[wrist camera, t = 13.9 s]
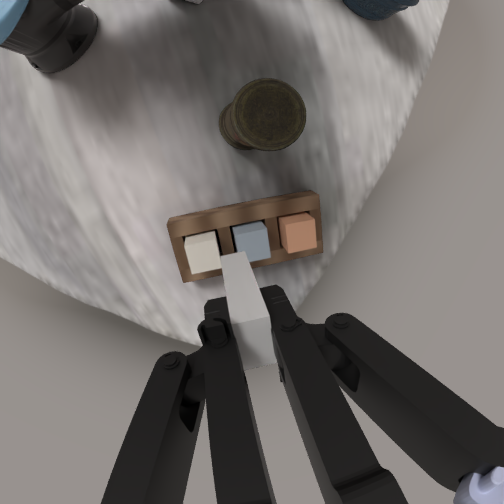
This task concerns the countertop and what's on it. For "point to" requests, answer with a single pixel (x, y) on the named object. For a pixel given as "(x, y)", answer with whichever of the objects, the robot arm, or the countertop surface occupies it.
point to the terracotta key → (297, 231)
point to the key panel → (241, 214)
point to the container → (263, 116)
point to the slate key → (252, 240)
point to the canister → (378, 7)
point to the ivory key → (202, 251)
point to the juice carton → (195, 1)
